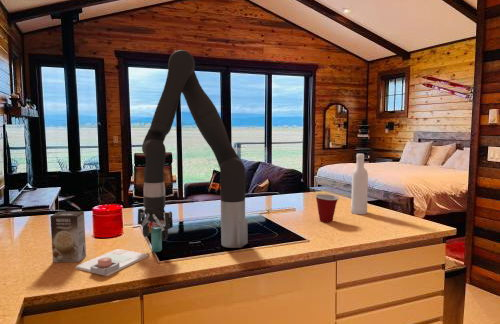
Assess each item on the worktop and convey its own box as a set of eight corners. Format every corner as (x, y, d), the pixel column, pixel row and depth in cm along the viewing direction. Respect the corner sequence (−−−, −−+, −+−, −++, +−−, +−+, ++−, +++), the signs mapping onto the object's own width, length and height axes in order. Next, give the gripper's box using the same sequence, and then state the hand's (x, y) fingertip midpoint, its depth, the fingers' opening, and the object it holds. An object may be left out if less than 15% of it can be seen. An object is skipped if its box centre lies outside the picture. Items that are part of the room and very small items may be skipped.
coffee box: (51, 262, 124) (48, 216, 122) (60, 255, 130) (57, 211, 128) (79, 262, 124) (76, 215, 122) (87, 255, 131) (84, 210, 129)
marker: (164, 249, 135) (163, 227, 135) (157, 253, 132) (156, 230, 131) (156, 248, 137) (155, 226, 136) (149, 251, 134) (148, 229, 133)
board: (148, 256, 129) (147, 250, 128) (104, 277, 112) (104, 270, 111) (117, 250, 135) (117, 244, 135) (72, 269, 118) (71, 262, 117)
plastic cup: (338, 224, 166) (339, 198, 165) (314, 223, 168) (314, 197, 167) (338, 218, 177) (338, 193, 175) (315, 217, 179) (315, 193, 178)
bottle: (363, 215, 182) (365, 154, 179) (348, 213, 187) (349, 154, 183) (369, 212, 188) (371, 153, 185) (354, 210, 193) (355, 152, 190)
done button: (114, 264, 116) (114, 258, 116) (104, 269, 113) (104, 263, 113) (105, 262, 118) (105, 256, 118) (95, 267, 115) (94, 261, 114)
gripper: (176, 194, 133) (177, 238, 135) (146, 190, 139) (147, 232, 141) (163, 198, 126) (163, 244, 128) (131, 194, 132) (133, 238, 134)
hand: (155, 238), depth 134 cm, fingers open, 8 cm apart
